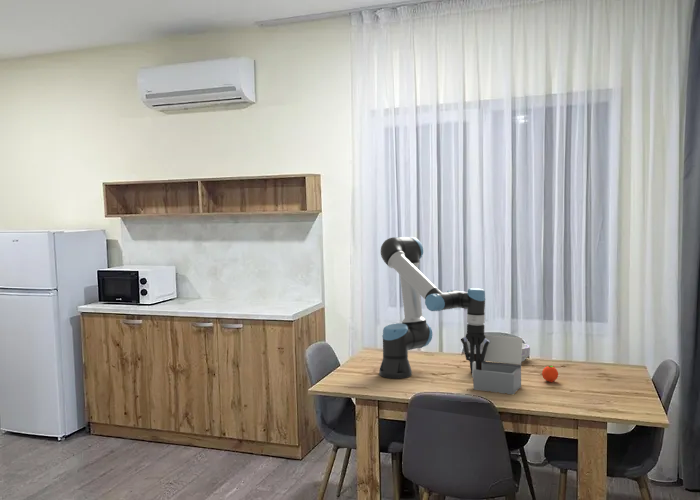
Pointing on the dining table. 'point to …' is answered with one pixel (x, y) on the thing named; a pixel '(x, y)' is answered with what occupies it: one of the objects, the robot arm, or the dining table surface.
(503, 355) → the lid
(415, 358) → the dining table surface
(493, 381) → the grey box
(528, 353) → the paper bowls
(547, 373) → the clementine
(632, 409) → the dining table surface
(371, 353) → the dining table surface
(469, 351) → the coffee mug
